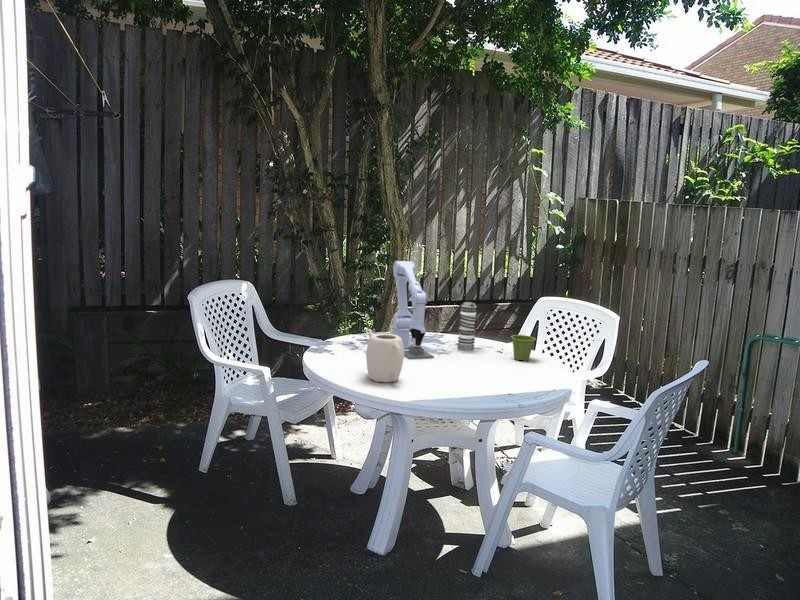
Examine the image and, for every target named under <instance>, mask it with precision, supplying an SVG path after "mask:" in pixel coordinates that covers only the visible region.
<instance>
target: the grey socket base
mask: <svg viewBox="0 0 800 600" xmlns="http://www.w3.org/2000/svg"><path fill="white" fill-rule="evenodd" d="M404 358H406V359H408V360H421V359H422V360H423V359H424V360H425V359H434V358H435V356H434V355H432V354H431V353H429V352H428V351H425V348H423V347H422V346H421V347H416V348H415V349H414V348H413V345H410V346H409V348H408V350H404Z"/></svg>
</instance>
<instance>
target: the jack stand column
mask: <svg viewBox="0 0 800 600" xmlns="http://www.w3.org/2000/svg"><path fill="white" fill-rule="evenodd" d="M421 345H422V344H421ZM421 345H420V346H416V340H415V338H413V340H412V346H413V348H414V349H415V348H416V347H422V346H421Z"/></svg>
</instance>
